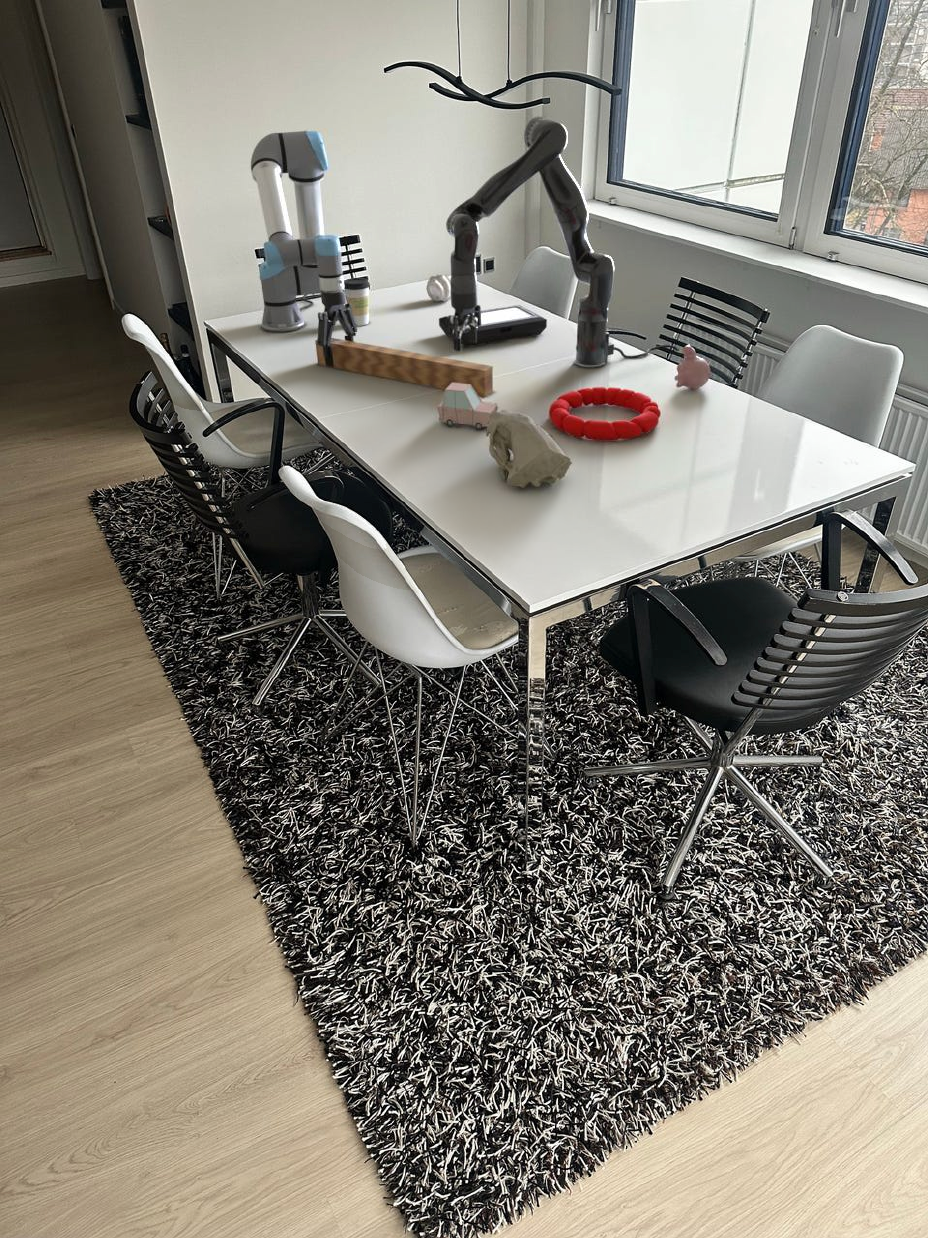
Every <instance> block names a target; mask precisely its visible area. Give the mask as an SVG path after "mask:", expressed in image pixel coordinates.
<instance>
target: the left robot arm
mask: <svg viewBox="0 0 928 1238" xmlns="http://www.w3.org/2000/svg"><path fill="white" fill-rule="evenodd" d="M325 148H326V147H325V145H324V142H323V138H322V134H320V132H319V131H317V130H301V131H300V130H299V131H286V132H272V133H269V134H267V135H265V136H263V137H262V138H261V139H260V140H259V141H258V143H257V144H256V146H255V147H254V149H253V151H252V155H251V158H250V171H251V176H252V179H253V180H254V182H256V185H257V190H258V195H259V201H260V205H261V211H262V214H263V220H264V225H265V231H266V235H267V236H266V237H267V240H268V241H265V242H264V243H263V251H264V252H263V253H264V257H265V260H264V261H263V262H261V263H260V265H259V266H258V270H259V280H260V285H261V286H260V287H261V292H262V299H263V313H262V319H261V326H262V330H264V331H265V332H271V333H286V332H293V331H296V330H297V331H298V330H300V329H302V328H304V326H305V319H304V317H303V314H302V312H301V311H303V310H305V309H307V308H310V307H312V306H313V305H314V302H313V301H312V300H309V299H306V297H307V296H309V295H312V296H315V295H318V294H320V301H321V304H322V306H324V308H323V311H322V312H317V318H318V323H317V324H318V325H317V339H316V340H317V345H319V346H322V347H323V354H324V357H325V364H326V366H325V367H328V366H330V367H329V368H333V366H334V363H333V355H332V346H329V345H330V341H331V338H332V336H333V332H334V327H335V325H336V324H337V322H339V324H340V325H341V327H342V330H343V331H344V333H345V335H344V340H346V341H352V342H355V341H354V337H356V336H357V332H358V326H356V324H355V320H354V317H353V314H352V310H351V303H347V301H346V297H345V295H346V294H345V290H344V281H345V280H344V271H343V260H342V259H343V258H342V247H341V242H340V238H339V237H338V235H334V234H325V228H324V216H323V215H324V214H323V203H322V202H323V201H322V190H321V182H322V180H323V179H324V178H325V172H326V171H328V170H329V163H328V158H327V152H326V149H325ZM283 174H288V179H289V180H290V181H291V182H292V183H293V187H294V197H295V206H296V215H297V224H298V226H297V227H298V236H299V238H297V239H296V238H295V239H294V238H293V234H292V233H293V232H292V227H291V223H290V218H289V214H288V209H287V203H286V198H285V194H284V189H283V184H282V177H283ZM297 296H302V298H301V300H302V301H303V302H305V303H309V304H307V305H304V306H302V307H299V306H298V305H299V304H298V303H297Z"/></svg>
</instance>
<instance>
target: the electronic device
mask: <svg viewBox="0 0 928 1238" xmlns="http://www.w3.org/2000/svg"><path fill="white" fill-rule="evenodd" d="M448 316H449V315H446V316H443V317H439V318H438V326H439V328H440V329H441V330H442V332H443V333H444V334H445V336H447V337H449V336H448ZM451 316H454V314H453V315H451ZM476 320H477V321H478V319H477V318H476ZM458 327H459V326H458ZM547 327H548V319H546V318H544V317H543V316H540V315H539V314H537V313H535V312H533V311H531V310H529V309H527V308H526V307H524V306H522V305H519V304H516V305H511V306H503V307H498V308H491V309H485V310H481V326H478V329H477V342H476V343H470V342H469V330H470V328H469V327H468V326H467V327H465V330H464V331H463V332H462V335H461V346H462V347H464V348H468V347H474V346H480V345H486V344H493V343H498V342H504V341H511V340H516V339H522V338H528V337H534V336H540V335H542V333H544V331H545V330H546V329H547ZM452 332H453V329H452ZM458 333H459V331H458ZM449 338H450V339H452V340H453V338H452V337H449Z"/></svg>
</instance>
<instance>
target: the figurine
mask: <svg viewBox="0 0 928 1238" xmlns="http://www.w3.org/2000/svg"><path fill="white" fill-rule="evenodd" d="M682 354H683V358H684V359H683V361H682V362H679V363H678V364H677V365H676V372H677V375H675V376H674V381H675V382H676V381H677V382H676V384H675V386H676V388H681V387H686V388H688V389H693V390H694V389H695V390H696V389H700V388H703V387H704V386H705V385H706V384H707V383H708V382H709V379H710V377H711V367H710V364H709V362H708V361H706V359H704V358H702V357H700V356H697V353H696V350H695V349H694V347H692V345H690V344H686V345H685V346H684V347H683V348H682Z"/></svg>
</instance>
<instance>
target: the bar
mask: <svg viewBox="0 0 928 1238" xmlns="http://www.w3.org/2000/svg"><path fill="white" fill-rule="evenodd" d="M314 341H315V342H314V343H315V351H316V359H317V365H319V366H323V367H327V368H328V367H329V368H331V367H330V366H326V364H325V357H324V354H323V347H322V346H319V345H317V339H315V340H314ZM329 346H332V355H333V363H334V366H333V367H332V368H333V369H338V370H339V369H340V370H344V371H349V372H355V373H360V374H364V375H370V376H373V377H374V376H375V377H380V378H384V379H385V378H386V379H392V380H396V381H399V382H406V383H411V384H415V385H421V386H426V387H432V388H437V389H441V390H445V389H446V388H447V387H448V386H449V385H450V384H451V383H460V384H470V385H471V386H472V387H473V389H474V390H475V391H476V393H477V394H478V396H479V397H482V398H486V397H487V396H489V395H492V394H493V393H494V385H493V384H494V382H493V381H494V380H493V379H494V378H493V375H494V374H493V373H494V372H493V365H489V364H482V363H476V362H470V361H465V360H459V359H455V358H454V359H453V358H448V357H442V356H436V355H433V354H432V355H430V354H426V353H421V352H420V353H419V352H416V351H415V352H414V351H410V350H409V351H408V350H402V349H396V348H392V347H387V346H379V345H374V344H368V343H363V342H359V341H358V342H357V341H354V342H352V341H346V340H345V339H340V338H336V337H335V338H334V337H331V341H330V345H329Z"/></svg>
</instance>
